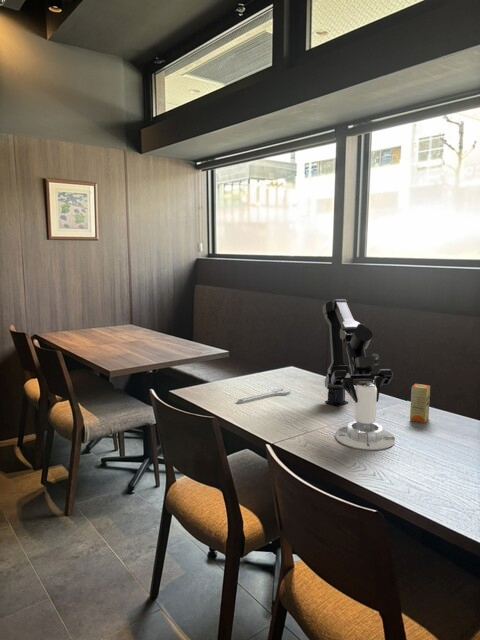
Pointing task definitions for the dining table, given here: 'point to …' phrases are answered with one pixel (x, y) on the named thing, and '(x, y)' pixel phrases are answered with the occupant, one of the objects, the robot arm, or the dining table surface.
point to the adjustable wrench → (264, 395)
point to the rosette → (365, 436)
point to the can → (366, 402)
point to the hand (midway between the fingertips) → (367, 401)
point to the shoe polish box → (420, 403)
